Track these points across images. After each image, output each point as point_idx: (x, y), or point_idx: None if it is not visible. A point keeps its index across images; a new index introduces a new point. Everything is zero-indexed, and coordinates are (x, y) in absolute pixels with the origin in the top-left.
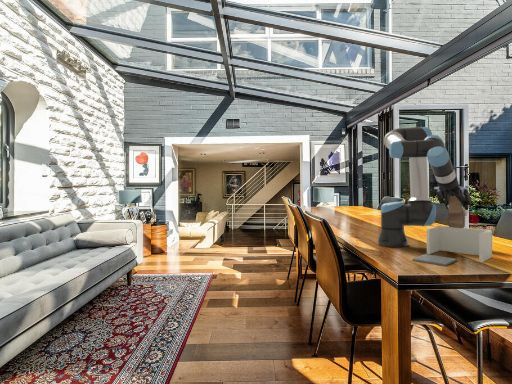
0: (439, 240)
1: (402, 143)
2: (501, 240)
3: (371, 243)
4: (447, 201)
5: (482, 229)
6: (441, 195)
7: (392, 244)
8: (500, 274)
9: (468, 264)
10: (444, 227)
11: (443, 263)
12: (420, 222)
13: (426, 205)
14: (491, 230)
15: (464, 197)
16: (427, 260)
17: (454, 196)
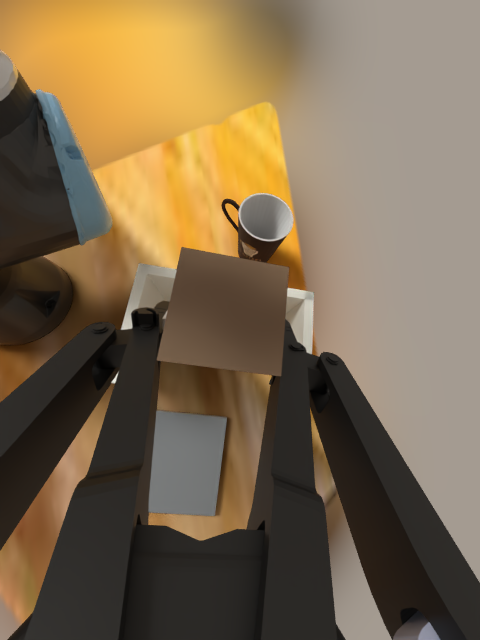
0: (160, 298)
1: None
2: (267, 119)
3: None
4: (157, 387)
5: (263, 195)
6: (57, 418)
7: (20, 341)
8: (330, 503)
9: (257, 442)
10: (164, 278)
11: (210, 508)
12: (56, 251)
13: (6, 167)
14: (312, 296)
15: (285, 291)
16: (165, 501)
17: (198, 276)
